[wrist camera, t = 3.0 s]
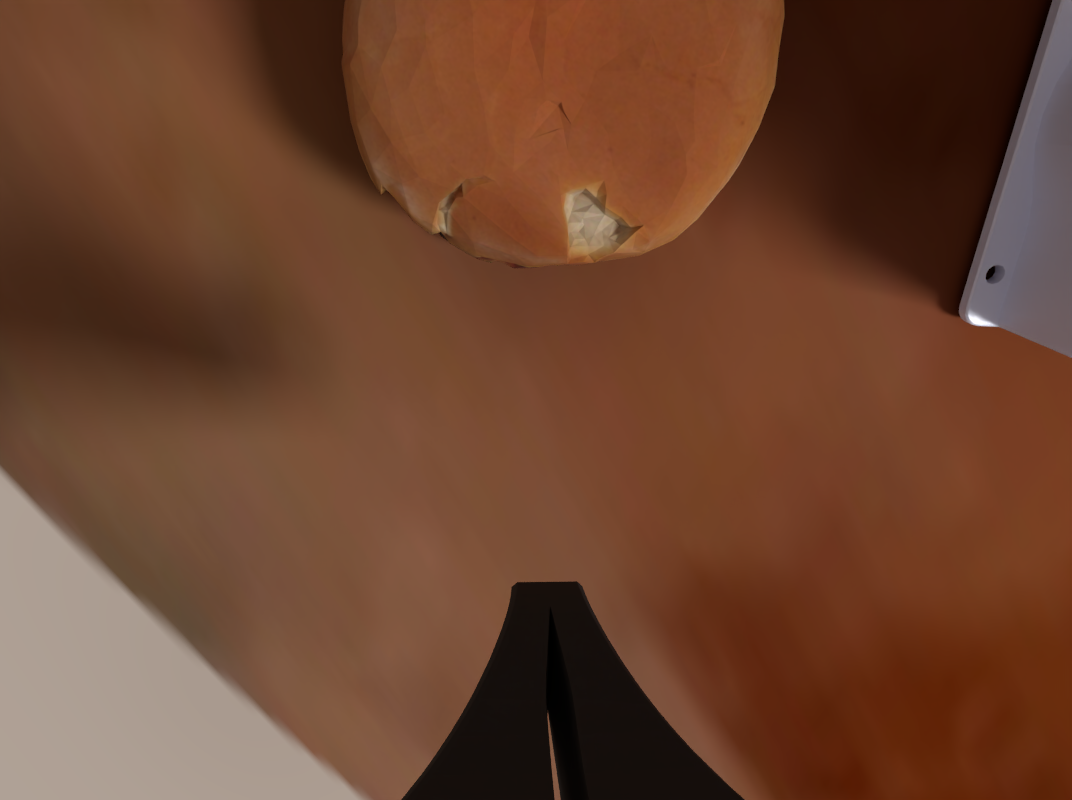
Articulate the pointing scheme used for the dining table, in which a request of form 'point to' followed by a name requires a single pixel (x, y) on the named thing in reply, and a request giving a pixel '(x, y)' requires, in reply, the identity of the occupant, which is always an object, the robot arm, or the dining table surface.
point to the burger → (557, 116)
